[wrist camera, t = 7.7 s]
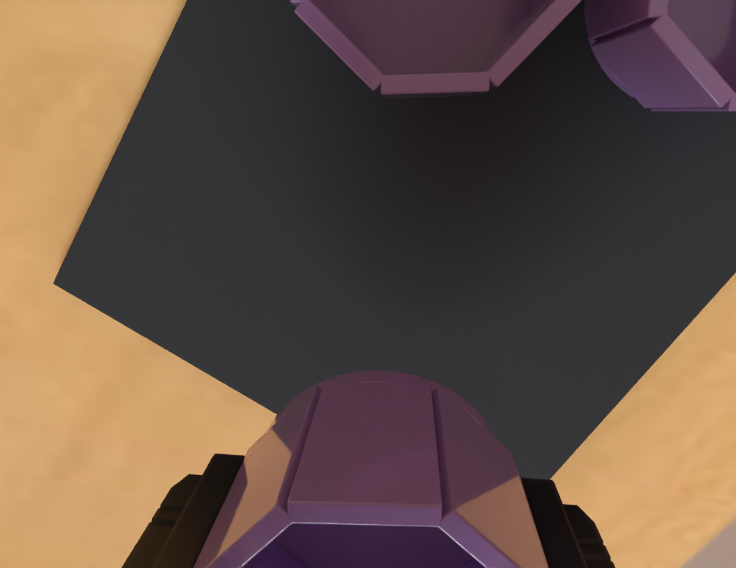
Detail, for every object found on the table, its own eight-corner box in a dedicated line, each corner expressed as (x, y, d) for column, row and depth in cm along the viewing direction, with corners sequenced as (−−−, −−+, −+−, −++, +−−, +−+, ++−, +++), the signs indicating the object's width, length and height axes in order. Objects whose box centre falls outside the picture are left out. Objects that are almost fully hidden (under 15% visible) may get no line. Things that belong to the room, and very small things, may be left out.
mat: (594, -843, 11) (601, -876, 11) (1208, -268, 13) (1232, -279, 13) (59, 280, 19) (52, 283, 19) (492, 534, 21) (494, 542, 21)
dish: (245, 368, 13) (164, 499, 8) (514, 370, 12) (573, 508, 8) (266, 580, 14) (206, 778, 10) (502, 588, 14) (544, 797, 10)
